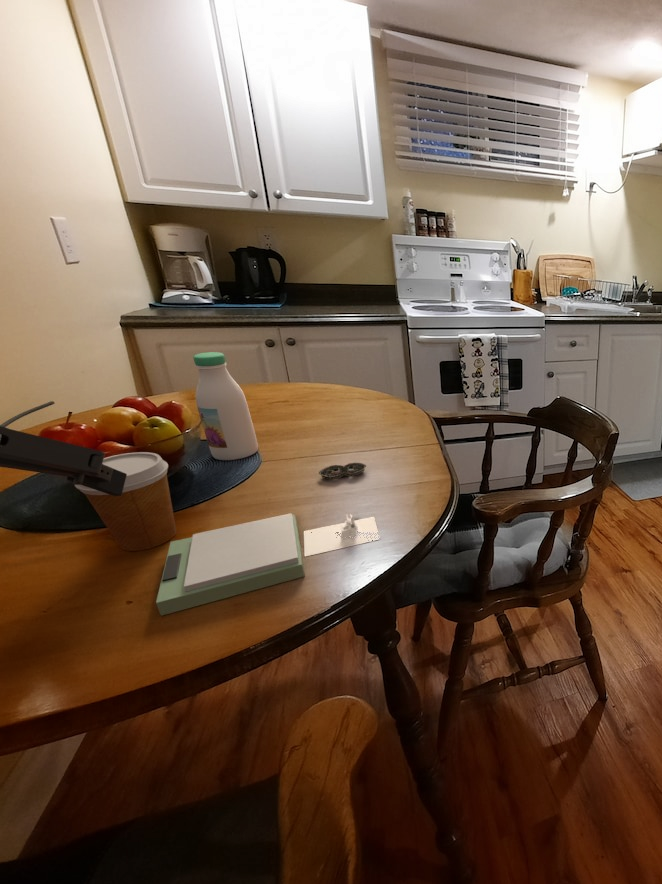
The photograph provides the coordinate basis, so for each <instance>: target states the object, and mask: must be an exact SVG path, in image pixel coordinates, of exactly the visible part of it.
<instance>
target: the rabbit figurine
mask: <svg viewBox="0 0 662 884" xmlns="http://www.w3.org/2000/svg"><path fill="white" fill-rule="evenodd" d="M349 516H350V517H349ZM345 519H346V520H344V522H343V523H344V525H342V526H341V527H340V533H341V534H340V536H341V537H340V539H341V540H342V539H345V537H346V538H348V537H349V536H351V538H352V537H353V538H354V537H355V536H356V533H357V531H359V527H358V525H357V523H356V522H355V519H354V516H353V514H351V513H349V514H348V513H345Z"/></svg>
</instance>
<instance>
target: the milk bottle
mask: <svg viewBox="0 0 662 884" xmlns="http://www.w3.org/2000/svg"><path fill="white" fill-rule="evenodd" d="M192 359H193V362H194V365H195V368H196V369H197V370H198V381H197V385H196V389H195V404H196V407H197V411H198V414H199V418H200V422H201V425H202V429H203V432H204V435H205V437H206V441H207V444H208V445H207V446H208V448H209V452H210V454H211V456H212V457H213V459H216V460H218V461H234V460H240V459H245V458H247V457H250V456H252V455H254V454H256V453H257V452H258V450H259V442H258V439H257V436H256V432H255V427H254V424H253V420H252V417H251V413H250V409H249V405H248V402H247V399H246V396H245V393H244V391H243V389H242V388H241V386H240V385H239V384H238V382H236V380H235V379H234V378H233V376H232V375H231V374H230V372H229V371H228V369H227V365H228V363H227V360H226V357H225V354H224V353H223V352H219V351H210V352H209V351H207V352H200V353H197V354H195V355H193V358H192Z"/></svg>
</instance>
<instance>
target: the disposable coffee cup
mask: <svg viewBox="0 0 662 884" xmlns="http://www.w3.org/2000/svg"><path fill="white" fill-rule="evenodd" d="M102 464H104V465H106V466H108V467H111V468H113V469H116V470H118V471H121V472H123V473H126V474H127V476H126V480H125V483H124V487H123V491H122V495H121V496H113V495H110V494H107V493H104V492H101V491H98V490H95V489H92V488H89V487H86V486H83V485H74V487H75V488H76V489H77V490H79V491H80V492H81V493H83V494H84V495H85V497H86V499H87V500H88V502H89V503H90V504H91V505H92V507H93V509H94V510H95V511H96V513H97V514H98V516H99V518H100V520H101V521H102V522H103V524H104V525H105V526H106V528H107V529H108V531H109V532H110V534H111V536H112V537H113V538H114V540H115V542H116V543H117V544H118V546H119V548H120V549H121V550H123V551H128V552H135V551H136V552H138V551H144V550H148V549H152V548H155V547H158V546H161V545H163V544H165V543H166V542H168V541H170V540H171V539H172V538H174V536H175V535H176V534H177V527H176V521H175V516H174V510H173V503H172V498H171V492H170V487H169V481H168V475H167V473H168V470H169V464H168V462H167V461H166V460H164V459H163V458H162V457H161V455H160V454H158V453H155V452H148V451H139V452H137V451H135V452H127V453H120V454H116V455H115V454H114V455H110V456H107V457H104V459H103V463H102Z"/></svg>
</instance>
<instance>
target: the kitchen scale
mask: <svg viewBox="0 0 662 884" xmlns="http://www.w3.org/2000/svg"><path fill="white" fill-rule="evenodd" d="M299 534H300V533H299V526H298V522H297V518H296V514H293V513H292V512H290V513H285V514H280V515H277V516H272V517H267V518H263V519H257V520H253V521H248V522H243V523H239V524H234V525H229V526H225V527H221V528H215V529H212V530H207V531H201V532H196V533H193V534H192V536H191V537H186V538H181V539H177V540H173V541H170V542H169V546H168V550H167V555H166V558H165V563H164V567H163V571H162V577H161V579H160V584H159V588H158V592H157V596H156V600H155V605H156V607H157V610H158V612H159V614H160V616H161V617H162V616H165V615H169V614H173V613H177V612H180V611H184V610H187V609H192V608H195V607H198V606H203V605H206V604H209V603H213V602H216V601H221V600H224V599H227V598H230V597H231V598H232V597H235V596H238V595H242V594H246V593H249V592H253V591H257V590H260V589H263V588H267V587H271V586H275V585H278V584H282V583H285V582H290V581H292V580H296V579H300V578H304V577H305V576H306V575H305V567H304V561H303V554H302V548H301V546H302V545H301V541H300V535H299Z"/></svg>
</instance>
